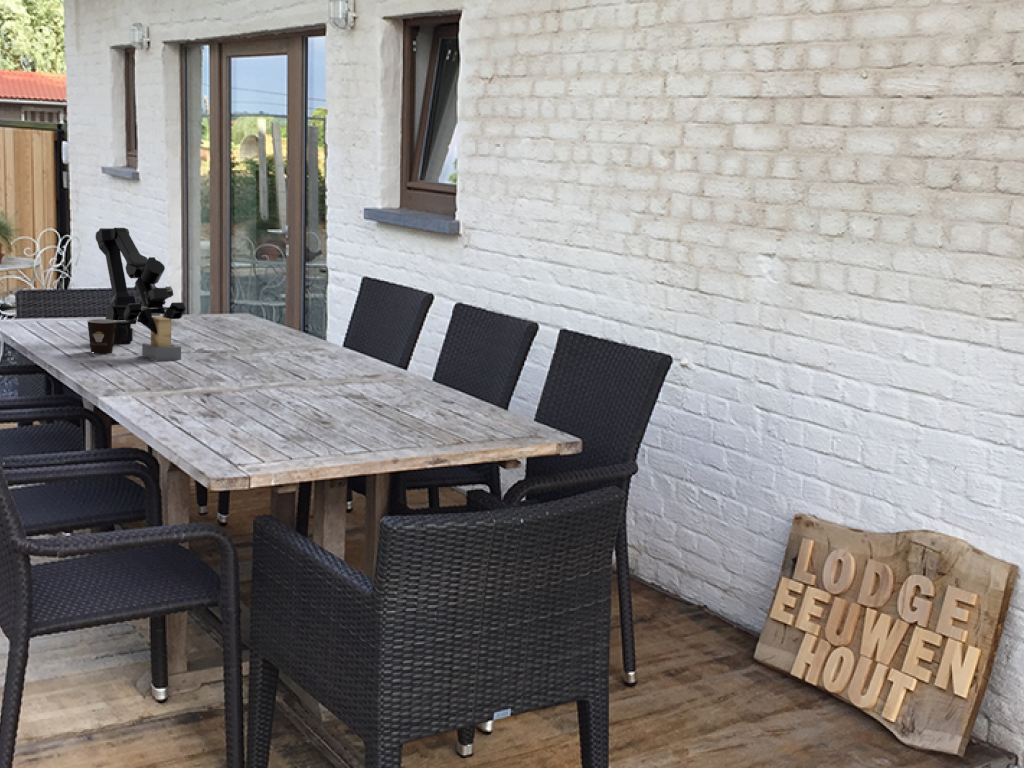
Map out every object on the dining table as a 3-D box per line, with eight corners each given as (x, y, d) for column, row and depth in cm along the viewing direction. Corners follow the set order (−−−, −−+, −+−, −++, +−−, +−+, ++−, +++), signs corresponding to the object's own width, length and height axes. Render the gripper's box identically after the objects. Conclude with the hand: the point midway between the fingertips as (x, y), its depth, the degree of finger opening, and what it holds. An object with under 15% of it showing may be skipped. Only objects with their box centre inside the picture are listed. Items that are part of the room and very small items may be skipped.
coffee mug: (81, 352, 379) (81, 320, 377) (100, 349, 387) (100, 318, 385) (111, 356, 375) (111, 325, 373) (129, 353, 383) (129, 322, 381)
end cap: (142, 355, 380) (142, 343, 380) (167, 354, 386) (167, 342, 385) (155, 360, 373) (155, 348, 372) (180, 359, 379) (181, 346, 378)
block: (150, 351, 381) (151, 317, 379) (162, 350, 383) (163, 316, 381) (158, 354, 376) (159, 319, 374) (170, 354, 379) (171, 319, 377)
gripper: (127, 277, 372) (142, 318, 366) (184, 277, 384) (199, 316, 378) (117, 299, 380) (131, 339, 373) (172, 298, 392) (187, 337, 386)
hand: (162, 332), depth 377 cm, fingers closed on block, 4 cm apart
